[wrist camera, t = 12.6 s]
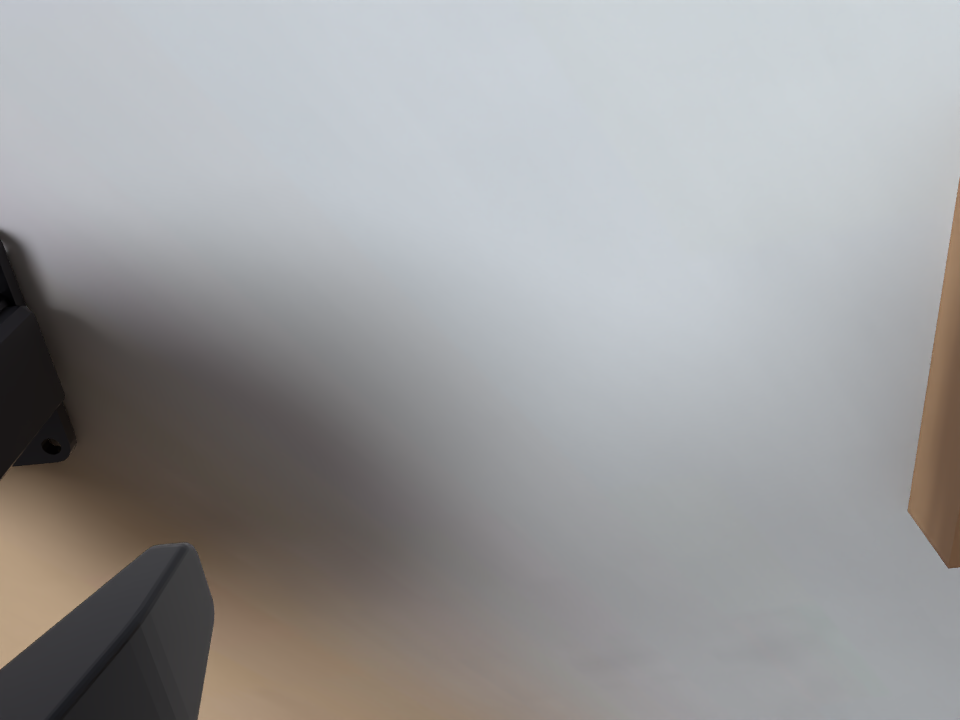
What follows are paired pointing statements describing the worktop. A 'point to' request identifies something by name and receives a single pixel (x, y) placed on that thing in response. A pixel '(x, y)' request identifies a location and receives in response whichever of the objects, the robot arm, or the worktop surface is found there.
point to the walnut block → (942, 422)
